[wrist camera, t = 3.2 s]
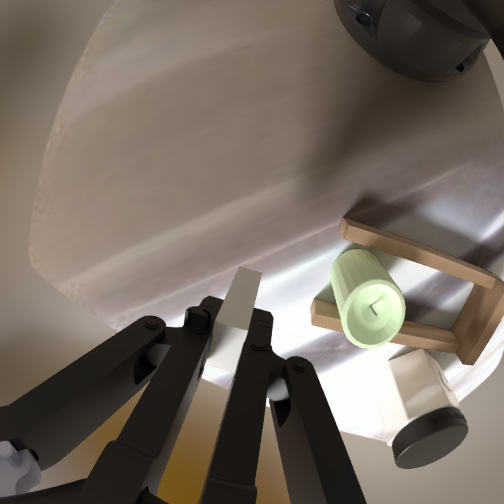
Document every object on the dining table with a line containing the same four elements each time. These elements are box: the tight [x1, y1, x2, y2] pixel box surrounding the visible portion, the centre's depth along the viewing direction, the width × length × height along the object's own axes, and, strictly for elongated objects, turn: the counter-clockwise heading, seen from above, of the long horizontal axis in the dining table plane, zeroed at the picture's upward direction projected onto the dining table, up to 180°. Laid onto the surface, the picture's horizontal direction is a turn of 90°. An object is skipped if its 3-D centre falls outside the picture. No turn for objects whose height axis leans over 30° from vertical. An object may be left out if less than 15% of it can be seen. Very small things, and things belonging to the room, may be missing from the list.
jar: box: [374, 348, 468, 469], centre depth 23 cm, size 9×8×12 cm
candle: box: [330, 249, 406, 349], centre depth 21 cm, size 5×5×8 cm
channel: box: [310, 218, 504, 365], centre depth 22 cm, size 9×20×5 cm, turn 76°
